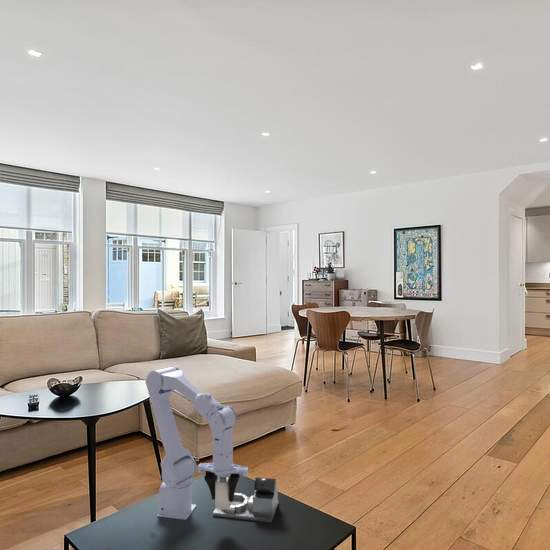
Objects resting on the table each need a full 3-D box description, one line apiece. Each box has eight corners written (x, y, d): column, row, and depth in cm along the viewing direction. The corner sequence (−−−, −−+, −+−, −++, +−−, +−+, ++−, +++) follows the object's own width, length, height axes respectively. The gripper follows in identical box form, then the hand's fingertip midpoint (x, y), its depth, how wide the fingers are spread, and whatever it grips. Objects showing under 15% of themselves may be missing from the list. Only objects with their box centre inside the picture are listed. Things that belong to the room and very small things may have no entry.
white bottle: (212, 508, 120) (212, 480, 120) (218, 500, 124) (217, 473, 124) (228, 510, 119) (228, 481, 119) (232, 501, 124) (232, 474, 124)
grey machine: (212, 515, 128) (212, 482, 128) (224, 497, 139) (224, 466, 139) (271, 522, 125) (271, 488, 125) (278, 503, 135) (278, 471, 135)
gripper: (193, 454, 119) (193, 503, 119) (243, 459, 117) (243, 508, 116) (202, 445, 126) (202, 491, 126) (250, 448, 123) (250, 496, 123)
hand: (222, 498), depth 122 cm, fingers closed on white bottle, 4 cm apart
